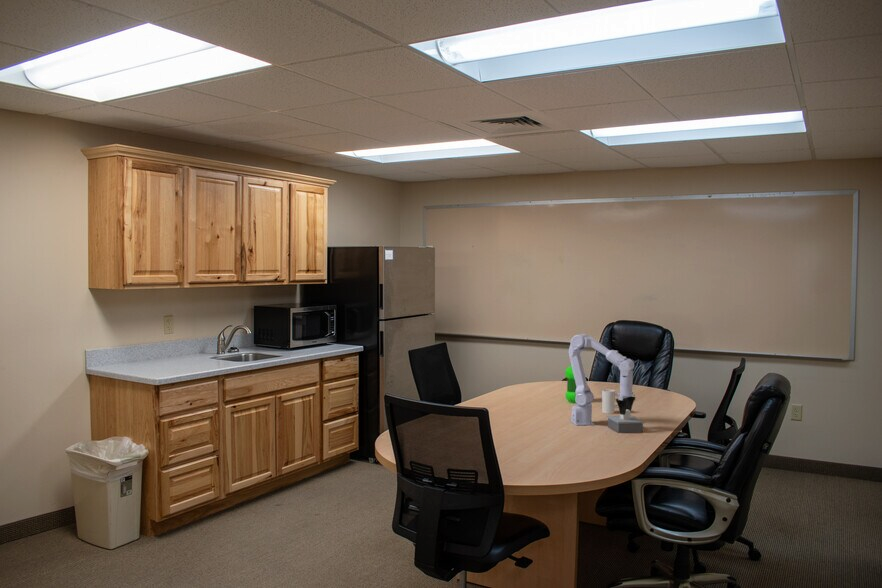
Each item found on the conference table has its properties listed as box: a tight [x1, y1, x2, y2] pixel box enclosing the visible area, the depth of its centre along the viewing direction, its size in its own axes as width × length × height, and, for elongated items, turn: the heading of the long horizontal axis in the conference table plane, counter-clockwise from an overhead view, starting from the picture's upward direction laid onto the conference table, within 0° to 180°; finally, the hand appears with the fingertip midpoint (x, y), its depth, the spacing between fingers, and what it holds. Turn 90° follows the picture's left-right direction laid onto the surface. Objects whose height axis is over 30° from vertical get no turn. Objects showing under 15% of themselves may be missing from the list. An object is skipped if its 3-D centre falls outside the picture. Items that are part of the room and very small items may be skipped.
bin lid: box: [606, 409, 645, 424], centre depth 310 cm, size 13×13×5 cm
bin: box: [607, 418, 644, 434], centre depth 310 cm, size 12×12×4 cm
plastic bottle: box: [564, 365, 577, 404], centre depth 374 cm, size 10×10×25 cm
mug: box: [601, 388, 620, 415], centre depth 347 cm, size 10×7×12 cm, turn 78°
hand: (625, 413), depth 310 cm, fingers open, 7 cm apart
